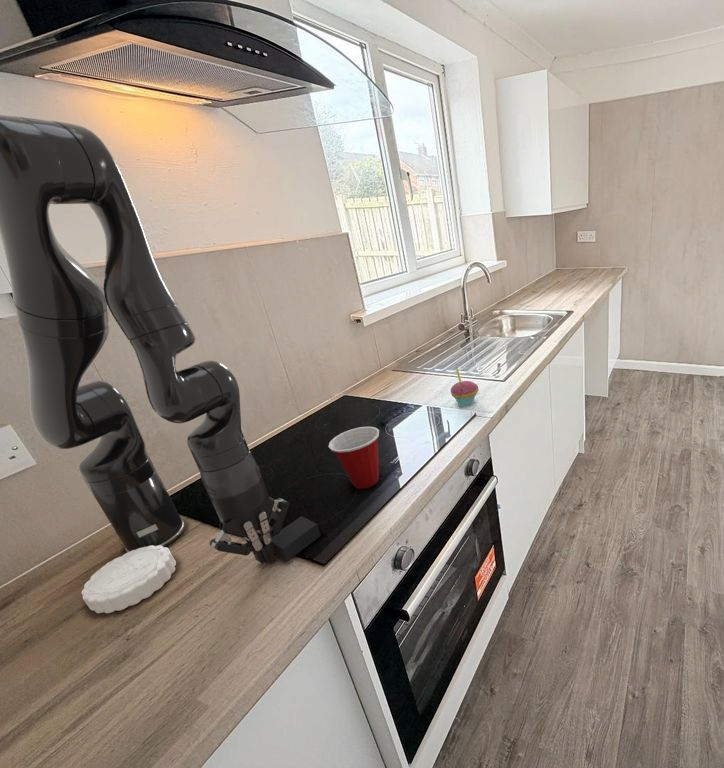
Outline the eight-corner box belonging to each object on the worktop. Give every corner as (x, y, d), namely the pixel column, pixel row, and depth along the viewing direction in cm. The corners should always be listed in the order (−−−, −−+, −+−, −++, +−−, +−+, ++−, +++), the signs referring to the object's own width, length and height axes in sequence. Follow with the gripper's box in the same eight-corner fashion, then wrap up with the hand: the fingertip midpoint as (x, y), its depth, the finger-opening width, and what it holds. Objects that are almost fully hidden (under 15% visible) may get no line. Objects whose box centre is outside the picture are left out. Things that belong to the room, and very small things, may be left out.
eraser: (272, 551, 77) (267, 539, 76) (305, 527, 83) (301, 515, 81) (287, 561, 75) (282, 549, 74) (321, 535, 80) (316, 523, 79)
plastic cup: (372, 462, 102) (362, 419, 98) (399, 476, 96) (389, 432, 91) (332, 485, 95) (318, 440, 90) (357, 502, 88) (344, 455, 84)
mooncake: (174, 546, 80) (166, 532, 79) (179, 583, 72) (171, 568, 71) (91, 583, 73) (81, 568, 72) (87, 629, 65) (75, 613, 64)
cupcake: (447, 407, 127) (441, 371, 122) (462, 395, 134) (457, 361, 129) (470, 411, 123) (465, 374, 119) (485, 399, 130) (481, 364, 125)
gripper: (261, 455, 74) (289, 529, 81) (178, 499, 64) (218, 579, 71) (285, 466, 70) (313, 542, 77) (201, 514, 60) (241, 597, 67)
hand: (267, 560), depth 74 cm, fingers closed
